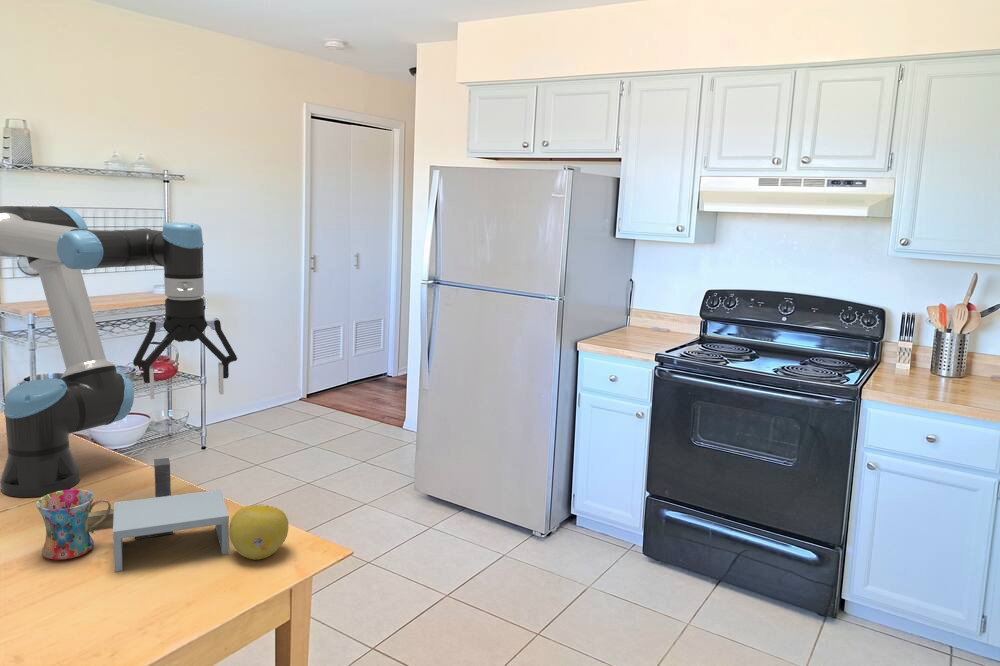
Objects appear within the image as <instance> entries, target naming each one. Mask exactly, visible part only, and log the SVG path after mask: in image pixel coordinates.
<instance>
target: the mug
mask: <svg viewBox="0 0 1000 666" xmlns="http://www.w3.org/2000/svg"><path fill="white" fill-rule="evenodd" d="M94 499H95V494H94V492H92V491H90V490H87V489H80V488H79V489H78V488H75V489H74V488H71V489H70V488H69V489H67V490H62V491H57V492H53V493H50V494H48V495H44V496H40V498H38V500H36V502H35V506H36V508H37V510H38V511H39V512H40V514H41V517H42V519H43V522H44V526H45V533H46V534H45V541H44V543H43V547H42V549H41V555H42V556H43V557H44V558H46V559H48V560H49V559H50V560H55V561H57V560H58V561H59V560H61V561H62V560H69V559H75V558H78V557H80V556H83V555H84V554H86V553H88V552H89V551H90V550H92V548H93V547H94V545H95V541H94V539H93V538H92V537H91V534H94V533H95V532H94V531H95V530H91V529H92V528H94V527H95V526H97V525H98V524H100V523H101V522H102V521H103V520H104V519H105V518H106V516H107V515H108V513H109V511H110V509H112V508H111V507H112V506H111V502H110V501H109V500H108V499H104V498H103V499H97V500H95V501H94ZM99 503H106V504H107V506H108V508H107V509H106V510H107V512H106V513H105V515H104V516H103V517H102V518H101V519H100V520H99V521H98V522H96V523H95V524H93V525H92V526H90V527H89V529H88V514H89V513H90V512H92V509H93V507H94V506H95V505H97V504H99ZM90 533H91V534H90Z"/></svg>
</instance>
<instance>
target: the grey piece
mask: <svg viewBox="0 0 1000 666" xmlns="http://www.w3.org/2000/svg"><path fill="white" fill-rule="evenodd" d="M153 463H154V464H153V469H154V498H156V497H164V496H172V490H171V489H172V488H171V464H170V463H171V462H170V458H169V457H166V458H156V459H153ZM174 533H175V531H171V532H164V533H157V534H150V535H143V536H136V537H134V540H139V539H145V538H146V539H147V538H152V537H159V536H161V537H162V536H168V535H173V534H174Z"/></svg>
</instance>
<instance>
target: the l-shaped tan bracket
mask: <svg viewBox="0 0 1000 666" xmlns="http://www.w3.org/2000/svg"><path fill="white" fill-rule="evenodd" d="M107 510H108V509H104V510H95V511H94V510H93V511H91V512H90V513H89V514H88V529H89V527H90V526H92V525H93V524H95V523H96V522H98V521H99V520H100V519H101V518H102V517H103V516H104V515H105V513H106V512H107ZM113 519H114V508H111V509H110V511H109V513H108V515H107V516H106V518H105V519H104V520H103V521H102V522H101V523H100V524H98V525H97V526H95V527H94V528H92V529H91V530H93V531H97V530H107V529H111V528H112V529H113Z"/></svg>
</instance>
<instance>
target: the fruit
mask: <svg viewBox="0 0 1000 666" xmlns="http://www.w3.org/2000/svg"><path fill="white" fill-rule="evenodd" d="M288 533H289V521H288V518H287V515H286V514H285V512H284V511H283V510H281V509H279V508H278V507H276V506H274V505H267V504H266V505H265V504H262V503H261V504H254V505H247V506H244V507H241V508H240V509H239V510H236V512H235V513H234V514H233V516H232V517H231V519H230V520H229V539H230V542H231V545H232V546H233V548H234V550H235V551H236V552H237V553H239V555H241V556H242V557H244V558H247V559H250V560H254V561H256V560H263V559H266V558H269V557H270V556H272V555H273V554H275V553H276V552H277V551H278V550H279V549H280V548H281V546H282V545H283V544H284V542H285V541H286V539H287V537H288Z"/></svg>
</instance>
